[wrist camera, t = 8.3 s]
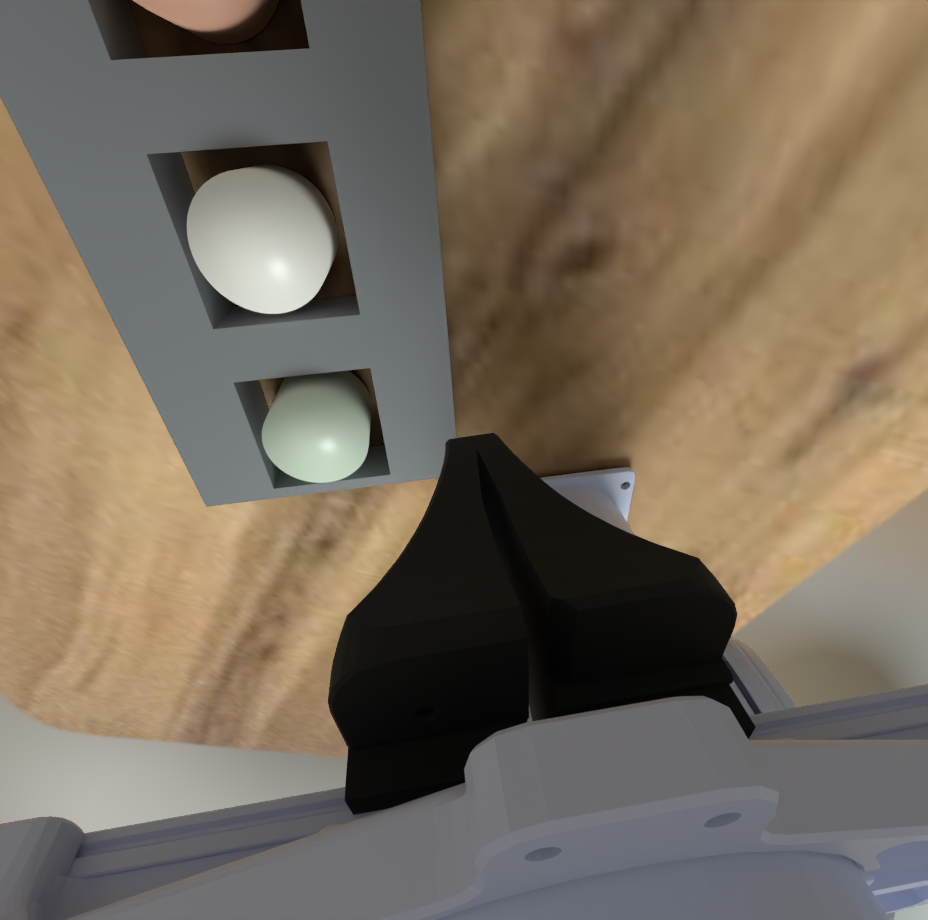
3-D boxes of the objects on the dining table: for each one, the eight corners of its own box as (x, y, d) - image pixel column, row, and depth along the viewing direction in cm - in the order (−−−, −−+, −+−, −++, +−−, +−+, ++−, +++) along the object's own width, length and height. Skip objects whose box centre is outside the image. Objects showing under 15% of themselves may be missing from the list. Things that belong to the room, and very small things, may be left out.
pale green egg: (378, 438, 22) (376, 476, 19) (292, 448, 21) (279, 488, 19) (362, 358, 19) (358, 389, 17) (265, 368, 19) (246, 401, 17)
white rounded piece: (347, 284, 18) (340, 307, 15) (241, 294, 17) (216, 319, 15) (323, 160, 15) (310, 164, 13) (199, 169, 15) (162, 175, 13)
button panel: (453, 445, 23) (459, 475, 21) (223, 472, 22) (206, 506, 20) (393, -245, 11) (393, -331, 9) (-94, -236, 10) (-213, -327, 8)
